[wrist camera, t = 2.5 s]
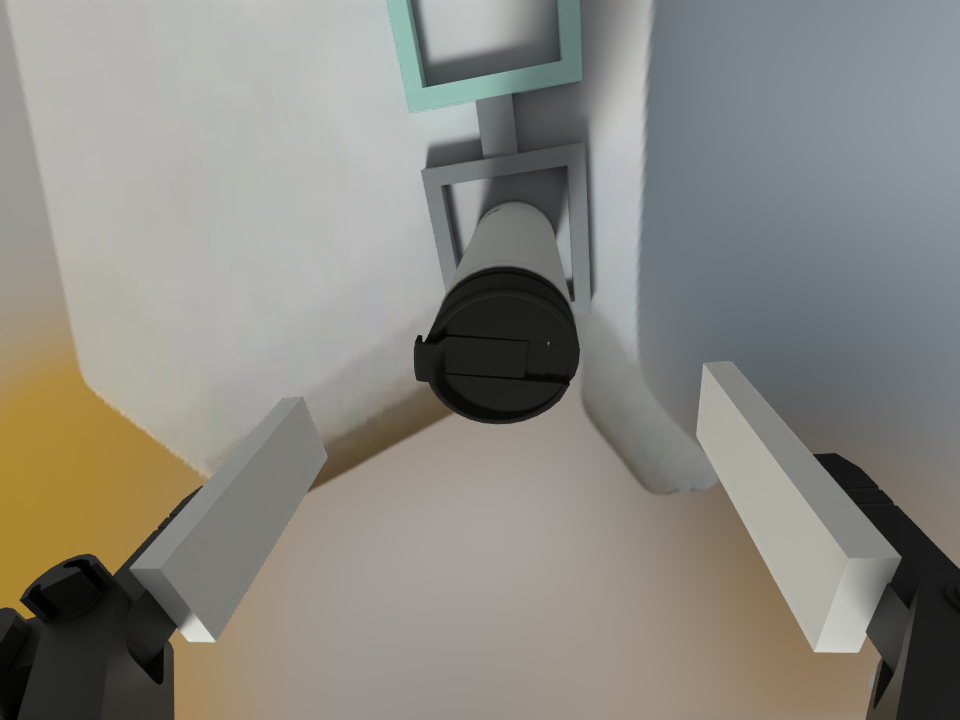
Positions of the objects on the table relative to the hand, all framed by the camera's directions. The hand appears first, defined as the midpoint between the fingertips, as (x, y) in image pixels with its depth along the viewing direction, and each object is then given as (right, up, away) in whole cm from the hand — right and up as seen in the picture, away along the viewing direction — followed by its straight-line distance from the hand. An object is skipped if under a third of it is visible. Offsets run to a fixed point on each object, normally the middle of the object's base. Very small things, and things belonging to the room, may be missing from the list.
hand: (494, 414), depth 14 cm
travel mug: (+2, +11, +20) cm, 23 cm away
